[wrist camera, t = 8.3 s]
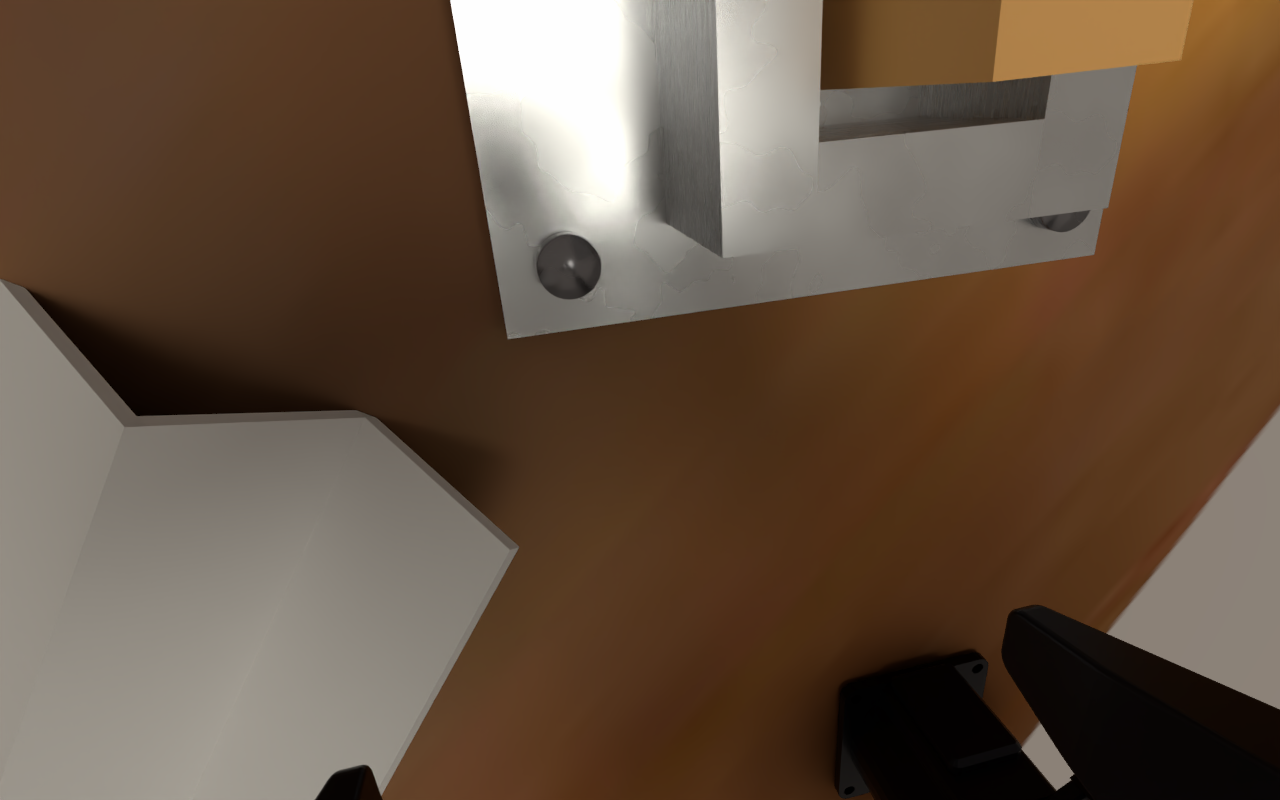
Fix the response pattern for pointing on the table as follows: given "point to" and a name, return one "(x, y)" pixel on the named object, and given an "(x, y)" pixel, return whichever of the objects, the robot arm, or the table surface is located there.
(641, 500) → the table surface
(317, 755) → the z bracket
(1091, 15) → the wedge pin
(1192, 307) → the table surface
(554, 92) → the bracket collar
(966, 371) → the table surface
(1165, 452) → the table surface
